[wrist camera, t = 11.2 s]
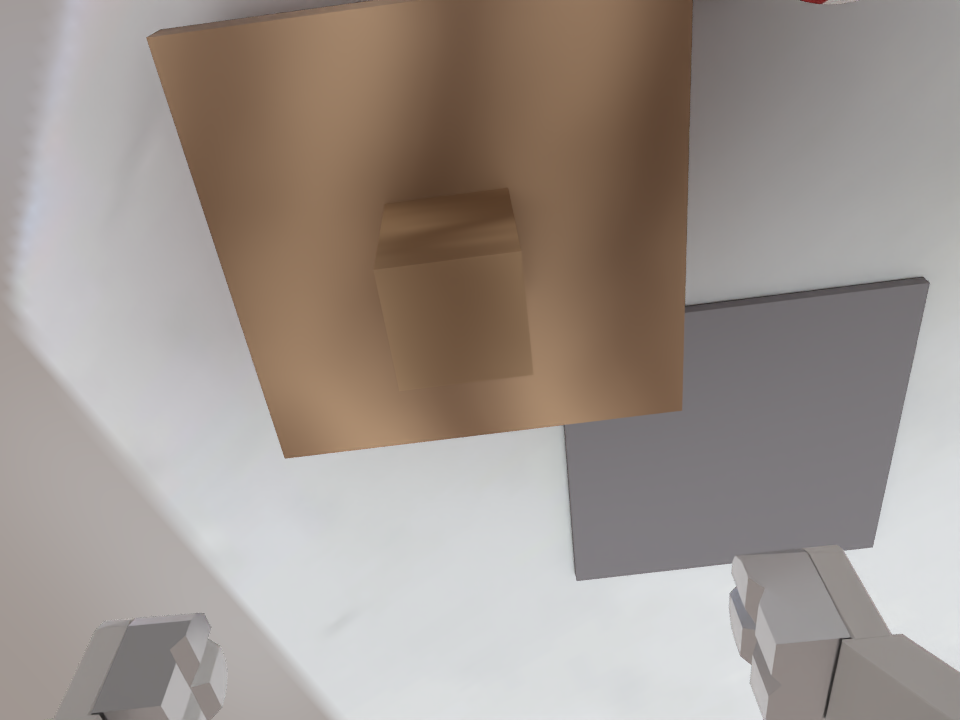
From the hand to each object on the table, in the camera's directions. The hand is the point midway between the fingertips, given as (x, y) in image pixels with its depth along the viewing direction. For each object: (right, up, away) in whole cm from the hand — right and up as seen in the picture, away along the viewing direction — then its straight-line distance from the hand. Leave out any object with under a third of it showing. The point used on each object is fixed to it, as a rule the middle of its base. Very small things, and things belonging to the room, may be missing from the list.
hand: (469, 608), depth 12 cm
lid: (-1, +8, +12) cm, 15 cm away
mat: (+12, 0, +24) cm, 27 cm away
